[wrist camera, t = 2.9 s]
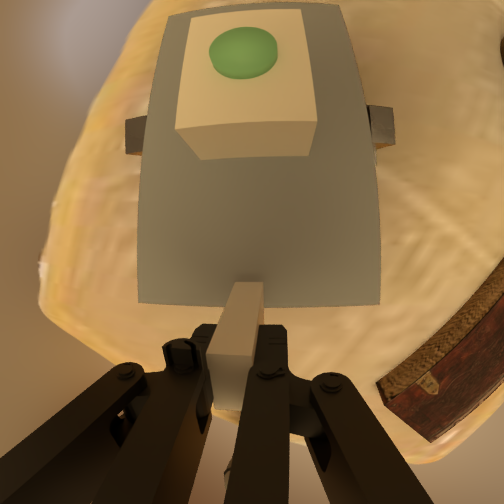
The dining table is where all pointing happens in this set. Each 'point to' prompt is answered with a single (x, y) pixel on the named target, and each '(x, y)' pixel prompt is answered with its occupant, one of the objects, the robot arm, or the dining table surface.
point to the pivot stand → (377, 115)
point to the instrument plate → (258, 162)
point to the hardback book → (452, 365)
